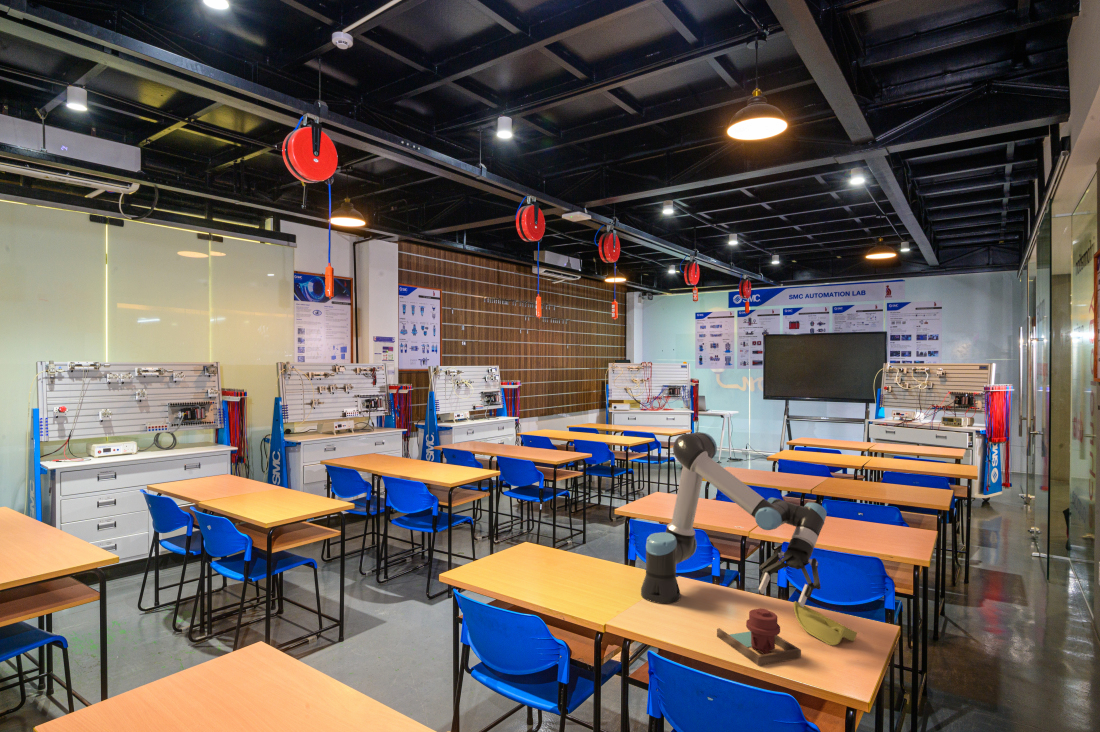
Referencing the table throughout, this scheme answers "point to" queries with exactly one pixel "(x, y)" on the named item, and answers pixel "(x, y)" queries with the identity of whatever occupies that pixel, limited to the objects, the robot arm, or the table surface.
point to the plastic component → (822, 626)
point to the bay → (741, 645)
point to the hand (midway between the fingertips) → (780, 598)
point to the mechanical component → (763, 629)
